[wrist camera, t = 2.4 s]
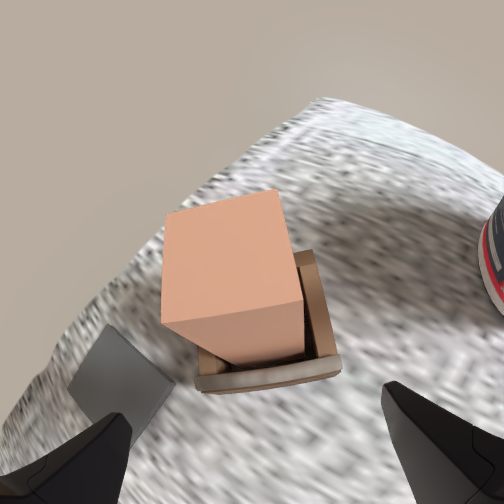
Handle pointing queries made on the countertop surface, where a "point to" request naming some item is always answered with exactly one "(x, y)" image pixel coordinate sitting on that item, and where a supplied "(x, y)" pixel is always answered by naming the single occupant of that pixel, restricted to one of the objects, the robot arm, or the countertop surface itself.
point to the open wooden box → (323, 366)
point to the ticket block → (234, 280)
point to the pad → (119, 383)
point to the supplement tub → (493, 256)
